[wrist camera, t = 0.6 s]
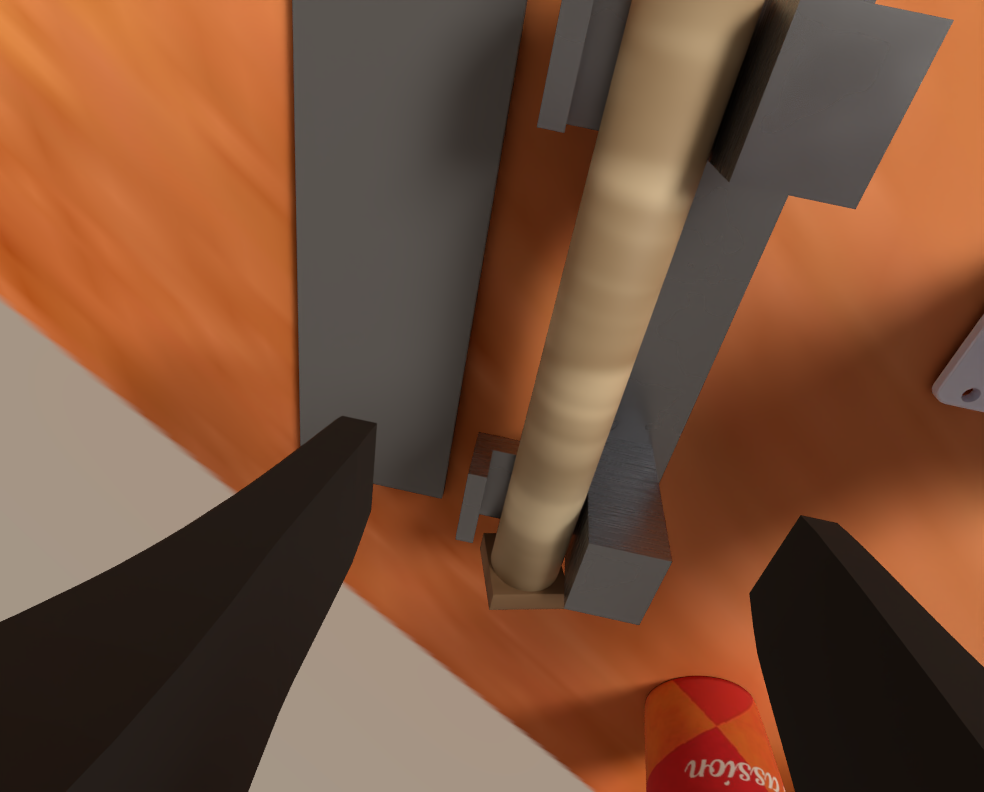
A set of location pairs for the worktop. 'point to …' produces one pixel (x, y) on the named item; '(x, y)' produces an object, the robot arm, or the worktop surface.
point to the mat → (395, 212)
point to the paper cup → (706, 739)
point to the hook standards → (713, 244)
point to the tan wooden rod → (614, 275)
